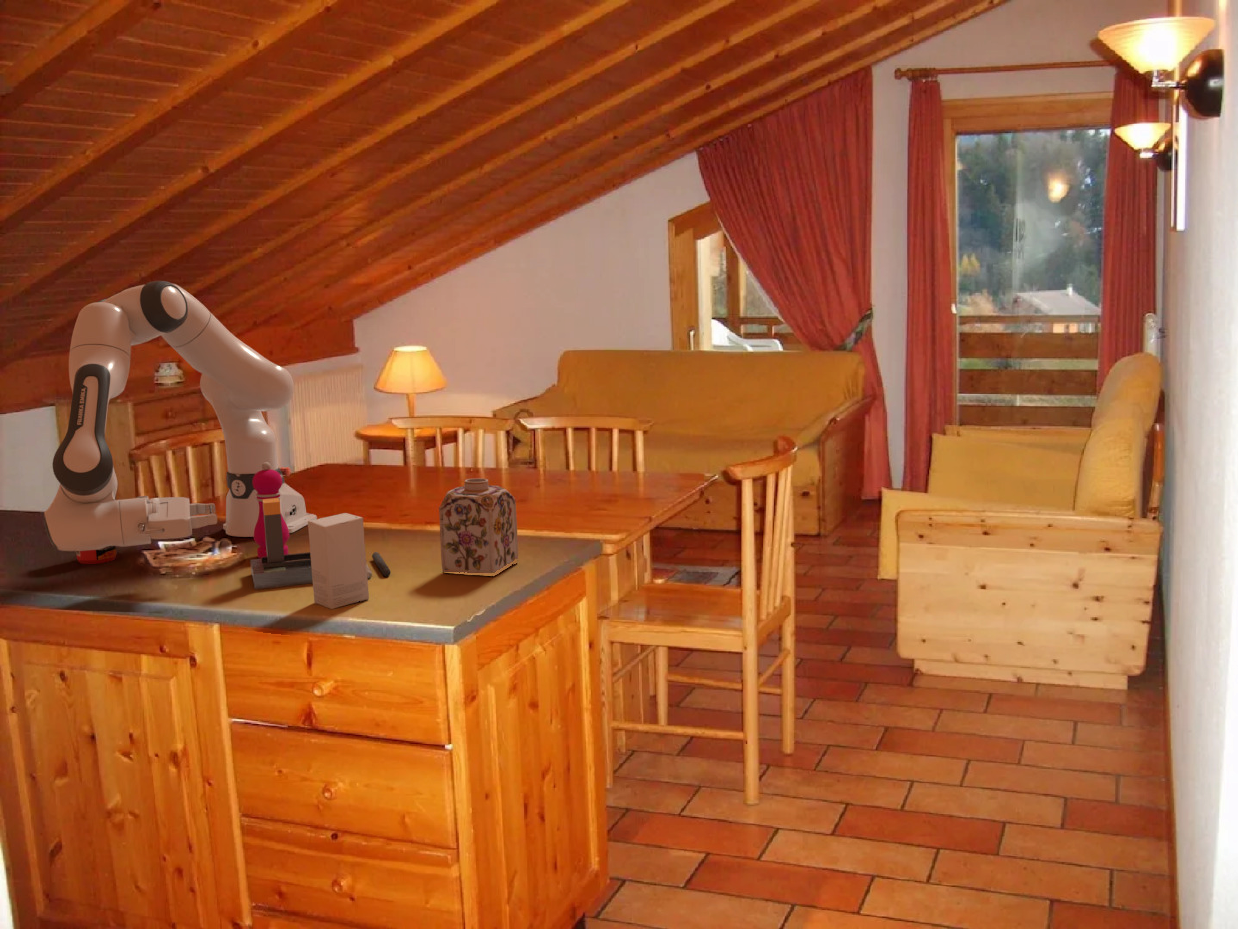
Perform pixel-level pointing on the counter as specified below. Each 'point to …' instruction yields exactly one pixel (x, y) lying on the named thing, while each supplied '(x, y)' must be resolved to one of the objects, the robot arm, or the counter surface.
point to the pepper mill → (267, 488)
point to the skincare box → (338, 560)
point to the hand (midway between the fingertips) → (216, 513)
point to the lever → (273, 530)
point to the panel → (282, 571)
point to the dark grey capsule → (379, 565)
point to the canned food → (97, 555)
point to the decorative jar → (478, 528)
